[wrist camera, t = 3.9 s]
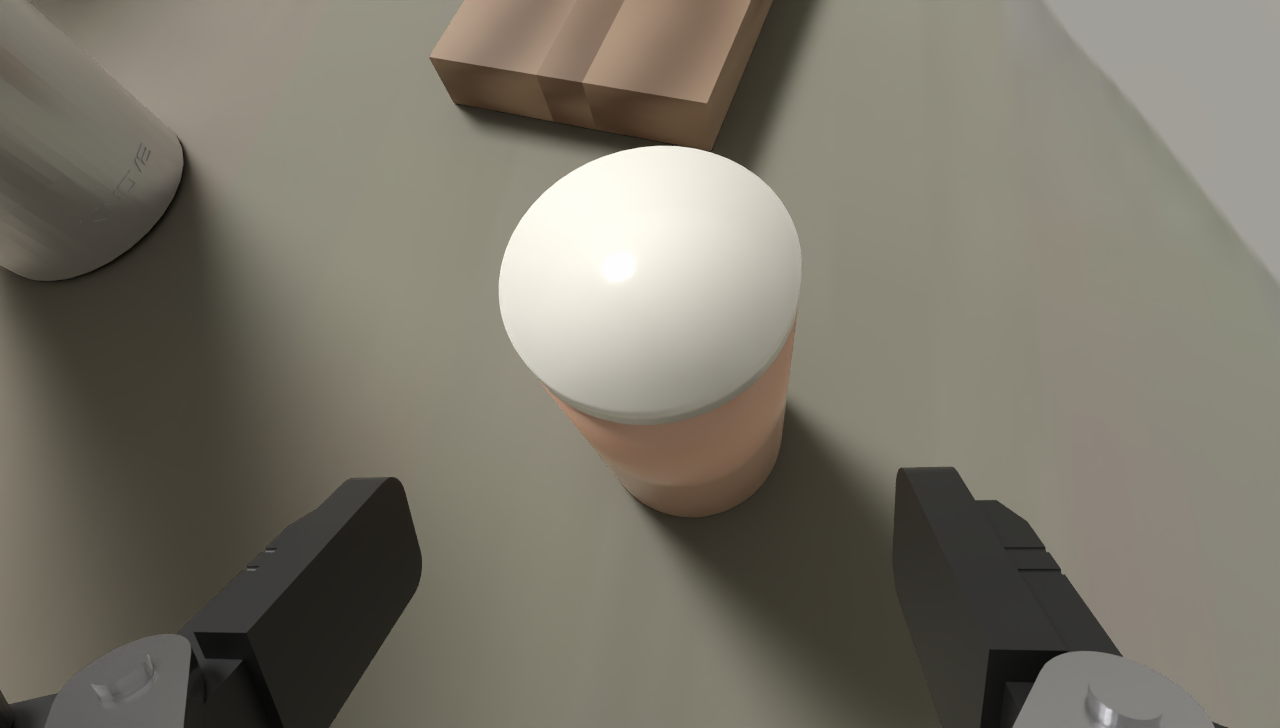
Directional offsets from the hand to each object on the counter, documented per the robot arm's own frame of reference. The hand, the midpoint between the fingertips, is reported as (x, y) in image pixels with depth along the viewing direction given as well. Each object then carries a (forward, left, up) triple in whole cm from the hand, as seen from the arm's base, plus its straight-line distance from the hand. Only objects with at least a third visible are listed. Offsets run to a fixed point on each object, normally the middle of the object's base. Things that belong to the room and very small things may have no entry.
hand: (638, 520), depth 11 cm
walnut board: (-11, +22, -10) cm, 26 cm away
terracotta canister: (-2, +5, -10) cm, 11 cm away
